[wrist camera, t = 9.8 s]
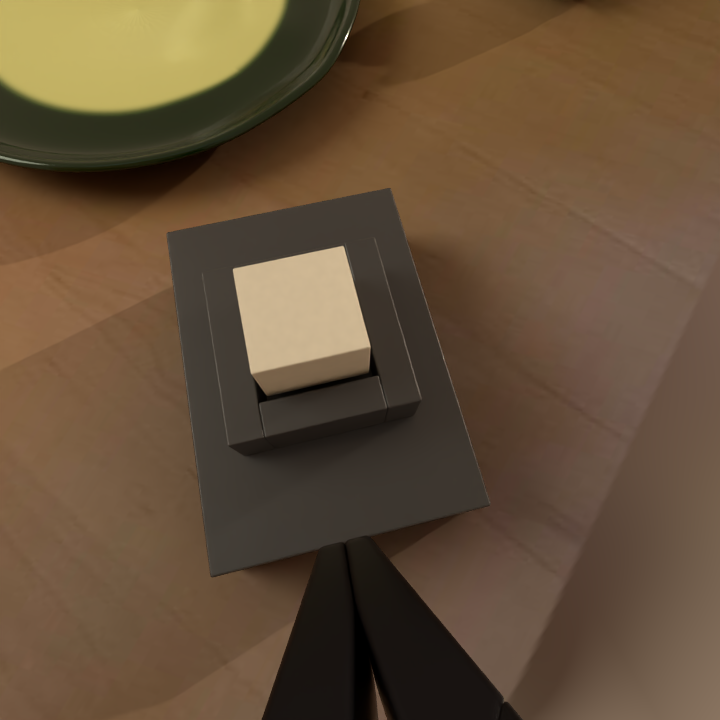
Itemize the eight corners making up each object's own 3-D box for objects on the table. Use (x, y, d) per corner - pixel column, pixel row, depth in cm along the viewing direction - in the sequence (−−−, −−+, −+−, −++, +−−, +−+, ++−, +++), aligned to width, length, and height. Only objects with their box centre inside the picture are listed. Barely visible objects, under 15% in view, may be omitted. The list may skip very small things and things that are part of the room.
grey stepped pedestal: (469, 509, 21) (511, 502, 15) (236, 568, 20) (187, 586, 14) (386, 234, 25) (394, 148, 19) (193, 274, 24) (143, 197, 19)
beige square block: (369, 373, 17) (371, 347, 14) (266, 397, 16) (250, 374, 14) (345, 283, 18) (343, 244, 15) (249, 303, 18) (232, 268, 15)
